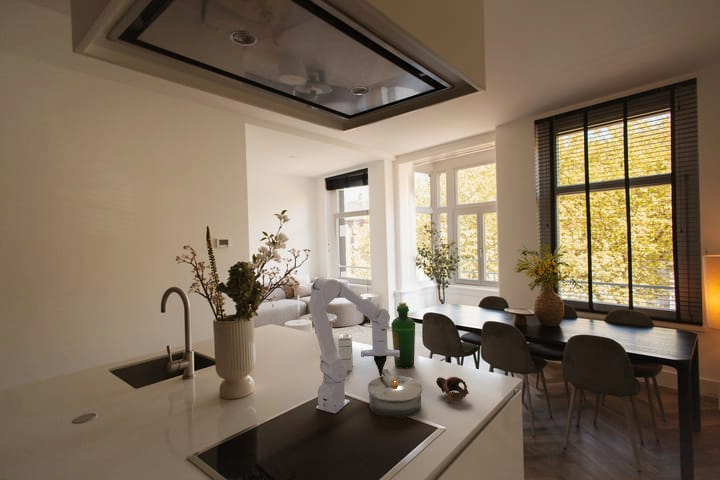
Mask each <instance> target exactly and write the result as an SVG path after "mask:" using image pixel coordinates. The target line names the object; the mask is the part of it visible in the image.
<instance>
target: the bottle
mask: <svg viewBox="0 0 720 480" xmlns="http://www.w3.org/2000/svg"><path fill="white" fill-rule="evenodd" d="M398 304H399V305H397V307H396V312H397V314H398V316H397V317H396V318H394V319H393V320H392V322H391V324H390V325H391V335H392V336H391V337H392V348H393V349H392V350H399V352H400V357H397V356H393V359H394V366H395V367H396V368H399V369H405V370H406V369H411V368H413V367H414V366H415V351H416V349H415V348H416V346H415V345H416V322H415V321H414V320H413V319H412V318H411V317H409V315H408V314H409V312H410V308H409V305H408V304H407V302H398Z"/></svg>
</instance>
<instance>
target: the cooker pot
mask: <svg viewBox="0 0 720 480" xmlns="http://www.w3.org/2000/svg"><path fill="white" fill-rule="evenodd" d="M368 394H369V393H368ZM368 397H369V408H370V410H371V412H372V413H374V414H375V415H378V416H380V417H384V418H388V419H405V418H409V417H413V416H415V415H417V414H418V413H419V412H420V411H421V409H422V394H421V395H420V396H419V397H417V398H415V399H413V400H410V401H406V402H386V401H381V400H378V399H376V398H374V397H372V396H371V395H370V394H369V395H368Z"/></svg>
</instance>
